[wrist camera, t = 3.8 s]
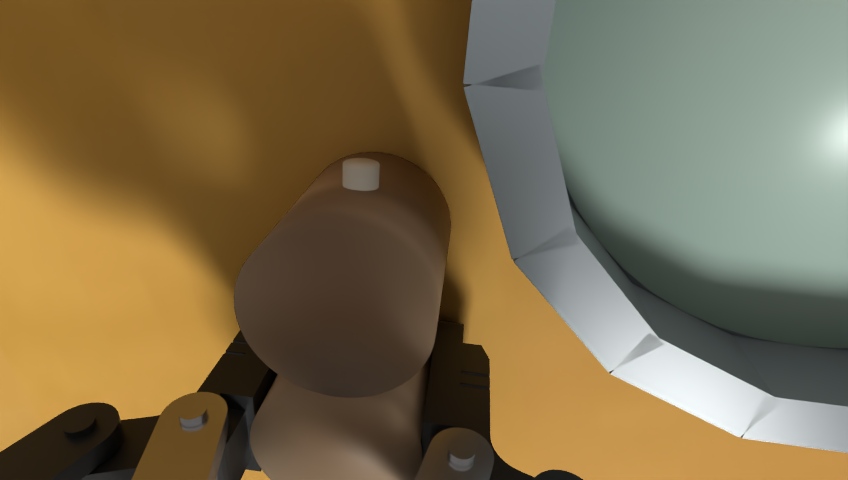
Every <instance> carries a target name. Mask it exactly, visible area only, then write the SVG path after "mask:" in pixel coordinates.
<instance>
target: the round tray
mask: <svg viewBox="0 0 848 480" xmlns="http://www.w3.org/2000/svg"><path fill="white" fill-rule="evenodd" d="M463 84H464V87H463V88H464V91H465V95H466V99H467V102H468V106H469V109H470V113H471V116H472V120H473V123H474V127H475V130H476V134H477V137H478V141H479V145H480V148H481V152H482V155H483V159H484V162H485V166H486V169H487V173H488V176H489V180H490V183H491V187H492V190H493V194H494V198H495V201H496V205H497V208H498V212H499V215H500V219H501V222H502V226H503V229H504V233H505V236H506V240H507V244H508V247H509V251H510V254H511V258H512V259H513V261H514V263H515V264H516V265H517V266H518V267H519V269H520V270H521V271H522V272H523V273H524V274H525V276H526V277H527V278H528V279H529V280H530V281H531V283H532V284H533V285H534V286H535V287H536V288H537V290H538V291H539V292H540V293H541V294H542V295H543V297H544V298H545V299H546V300H547V301H548V302H549V304H550V305H551V306H552V307H553V308H554V309H555V311H556V312H557V313H558V314H559V315H560V316H561V318H562V319H563V320H564V321H565V322H566V323H567V325H568V326H569V327H570V328H571V329H572V330H573V332H574V333H575V334H576V335H577V336H578V337H579V339H580V340H581V341H582V342H583V343H584V344H585V346H586V347H587V348H588V349H589V350H590V351H591V352H592V354H593V355H594V356H595V357H596V358H597V359H598V361H599V362H600V363H601V364H602V365H603V366H604V368H605V369H606V370H607V371H608V372H610V374H611V375H613V376H615V377H617V378H619V379H622V380H624V381H626V382H628V383H630V384H632V385H634V386H636V387H638V388H640V389H642V390H644V391H646V392H648V393H650V394H652V395H654V396H656V397H658V398H660V399H662V400H664V401H666V402H668V403H670V404H672V405H674V406H676V407H678V408H680V409H682V410H684V411H686V412H689V413H691V414H693V415H695V416H697V417H699V418H701V419H703V420H705V421H707V422H709V423H711V424H713V425H715V426H717V427H719V428H721V429H723V430H725V431H727V432H729V433H731V434H733V435H735V436H737V437H740V436H741V437H742V438H743V439H750V440H758V441H765V442H772V443H780V444H787V445H794V446H801V447H809V448H816V449H823V450H831V451H838V452H845V453H848V0H472V5H471V14H470V24H469V33H468V42H467V51H466V60H465V70H464V79H463Z"/></svg>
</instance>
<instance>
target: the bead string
mask: <svg viewBox="0 0 848 480" xmlns="http://www.w3.org/2000/svg"><path fill="white" fill-rule="evenodd" d="M450 231H451V220H450V213H449V209H448V205H447V203H446V200H445V198H444V196H443V194H442V192H441V190H440V189H439V187H438V186H437V185H436V183H435V182H434V181H433V180H432V179H431V178H430V177H429V176H428V175H427V173H425V172H424V171H423V170H422V169H420V168H419V167H418V166H416V165H414V164H413V163H411V162H409V161H407V160H405V159H402V158H400V157H397V156H394V155H390V154H385V153H376V152H367V153H358V154H354V155H350V156H347V157H344V158H341V159H340V160H338V161H336V162H334V163H332V164H331V165H330V166H328V167H327V168H326V169H325V170H324V171H323V172H322V173H321V174H320V175H319V176H318V177H317V178H316V179H315V181H314V182H313V183H312V184H311V185H310V186H309V188H308V189H307V190H306V191H305V192H304V193H303V195H302V196H301V197H300V198H299V199H298V200H297V202H296V203H295V204H294V205H293V206H292V207H291V209H290V210H289V211H288V212H287V213H286V214H285V215H284V217H283V218H282V219H281V220H280V221H279V222H278V224H277V225H276V226H275V227H274V228H273V229H272V231H271V232H270V233H269V234H268V235H267V236H266V238H265V239H264V240H263V241H262V242H261V243H260V245H259V246H258V247H257V248H256V249H255V250H254V251H253V253H252V254H251V255H250V256H249V258H248V259H247V260H246V262H245V263H244V265H243V266H242V268H241V270H240V273H239V275H238V278H237V281H236V285H235V291H234V308H235V313H236V318H237V321H238V324H239V327H240V330H241V332H242V334H243V336H244V338H245V340H246V341H247V343H248V344H249V346H250V347H251V349H252V350H253V351H254V352H255V354H256V355H257V356H258V357H259V358H260V359H261V360H262V361H263V362H264V363H265V364H266V365H267V366H268V367H269V368H270V369H272V370H273V371H274V372H276V373H277V376H276V378H275V380H274V382H273V384H272V386H271V388H270V390H269V391H268V393H267V395H266V397H265V399H264V401H263V403H262V405H261V407H260V408H259V410H258V412H257V414H256V416H255V418H254V420H253V423H252V425H251V431H250V444H251V449H252V452H253V454H254V457H255V459H256V461H257V463H258V465H259V466H260V467H261V469H262V470H263V472H264V473H265V474H266V475H267V476H268V477H269V478H270V479H271V480H415V478H416V476H417V473H418V471H419V469H420V466H421V464H422V459H423V452H422V446H421V434H422V424H423V416H424V410H425V403H426V396H427V389H428V382H429V375H430V368H431V361H432V354H433V347H434V342H435V337H436V331H437V324H438V317H439V310H440V303H441V296H442V288H443V281H444V274H445V267H446V260H447V253H448V246H449V239H450Z"/></svg>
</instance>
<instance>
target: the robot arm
mask: <svg viewBox="0 0 848 480" xmlns="http://www.w3.org/2000/svg"><path fill="white" fill-rule="evenodd" d="M463 330H464V324H461V323H453V322H445V321H438V324H437V331H436V337H435V342H434V347H433V354H432V361H431V368H430V375H429V382H428V389H427V396H426V403H425V410H424V416H423V424H422V434H421V446H422V452H423V459H422V464H421V466H420V469H419V471H418V473H417V476H416V478H415V480H583V479H581V478H580V477H578V476H576V475H574V474H572V473H570V472H567V471H562V470H548V471H544V472H542V473H540V474H539V475H537V476H536V477H535V478H534V477H532V476H530V475H527V474H525V473H523V472H521V471H519V470H517V469H515V468H513V467H511V466H510V465H508V464H507V463H505V462H504V461H503V460H502V459H501V458H500V457H499V456H498V454H497V453H496V451H495V450H494V448H493V446H492V443H491V439H490V390H489V388H490V377H489V375H490V367H489V358H488V356H487V354H486V353H485V351H484V349H483V347H482V346H481V345H474V344H467V343H463ZM276 376H277V373H276V372H274V371H273V370H272V369H270V368H269V367H268V366H267V365H266V364H265V363H264V362H263V361H262V360H261V359H260V358H259V357H258V356H257V355H256V354H255V352H254V351H253V350H252V349H251V347H250V346H249V344H248V343H247V341H246V340H245V338H244V336H243V334H242V332H241V330H240V331H239V333H238V334H237V336H236V337H235V338H234V340H233V343H231V344H230V346H229V347H228V348H227V350H226V353H225V354H223V356H222V357H221V358H220V360H219V361H218V363H217V364H216V365H215V367H214V368H213V370H212V371H211V373H210V374H209V375H208V377H207V378H206V380H205V381H204V383H203V384H202V385H201V387H200V388H199V390H198V391H197V392H196V393H191V394H187V395H184V396H182V397H180V398H178V399H176V400H174V401H173V402H172V403H170V404H169V405H168V406H167V407H166V408H165V409H164V410H163V411H162V413H161V415H158V416H153V417H145V418H136V419H128V420H120V417H119V414H118V411H117V410H116V408H114V407H113V406H111V405H109V404H106V403H88V404H83V405H79V406H76V407H73V408H71V409H69V410H67V411H65V412H63V413H61V414H60V415H58V416H57V417H55V418H53V419H52V420H50V421H49V422H47V423H45V424H44V425H42V426H41V427H39V428H38V429H36V430H34V431H33V432H31V433H30V434H28V435H27V436H25V437H23V438H22V439H20V440H19V441H17V442H16V443H14V444H12V445H11V446H9V447H8V448H6V449H4V450H3V451H1V452H0V480H241V478H242V476H243V474H244V471H245V469H247V470H254V471H261V467H260V466H259V465H258V463H257V461H256V459H255V457H254V454H253V452H252V449H251V444H250V431H251V425H252V423H253V420H254V418H255V416H256V414H257V412H258V410H259V408H260V407H261V405H262V403H263V401H264V399H265V397H266V395H267V393H268V391H269V390H270V388H271V386H272V384H273V382H274V380H275V378H276Z"/></svg>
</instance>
